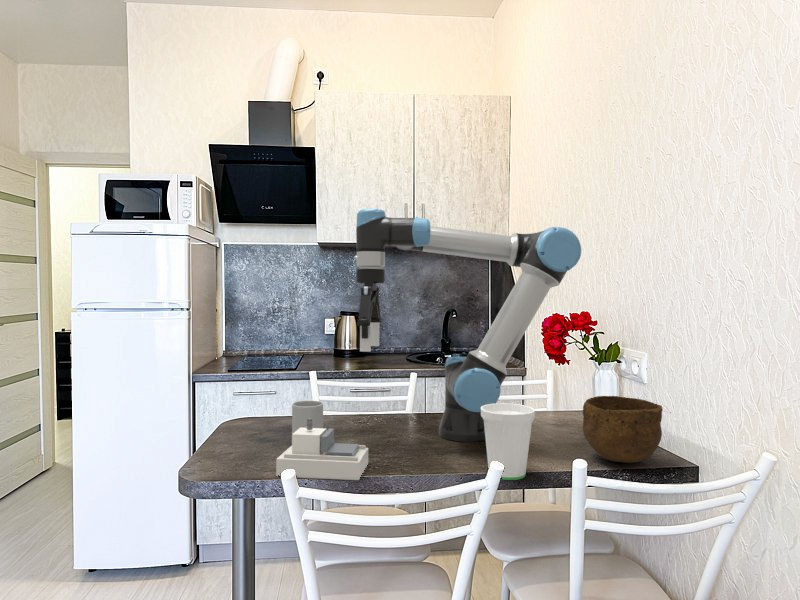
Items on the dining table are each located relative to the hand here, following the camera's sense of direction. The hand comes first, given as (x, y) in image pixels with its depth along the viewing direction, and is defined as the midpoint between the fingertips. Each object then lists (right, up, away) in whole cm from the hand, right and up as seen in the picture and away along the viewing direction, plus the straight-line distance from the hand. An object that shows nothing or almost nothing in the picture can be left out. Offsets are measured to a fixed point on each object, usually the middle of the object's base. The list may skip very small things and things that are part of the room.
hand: (370, 348), depth 154 cm
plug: (-13, -27, -17) cm, 35 cm away
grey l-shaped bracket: (-6, -23, -18) cm, 30 cm away
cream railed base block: (-10, -27, -17) cm, 34 cm away
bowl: (+63, -28, -9) cm, 69 cm away
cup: (+33, -28, -20) cm, 47 cm away
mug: (-17, -27, +8) cm, 33 cm away
